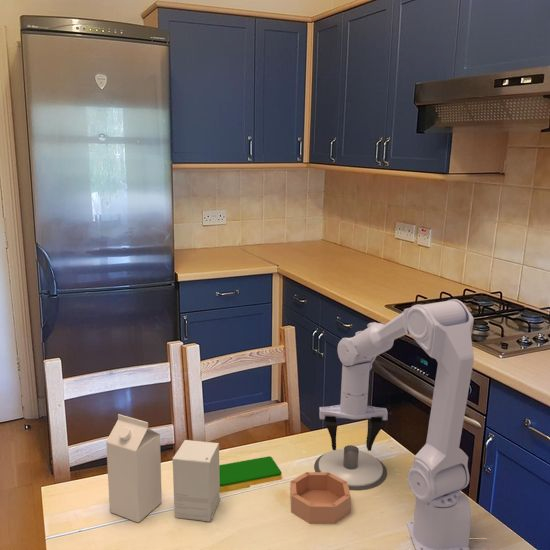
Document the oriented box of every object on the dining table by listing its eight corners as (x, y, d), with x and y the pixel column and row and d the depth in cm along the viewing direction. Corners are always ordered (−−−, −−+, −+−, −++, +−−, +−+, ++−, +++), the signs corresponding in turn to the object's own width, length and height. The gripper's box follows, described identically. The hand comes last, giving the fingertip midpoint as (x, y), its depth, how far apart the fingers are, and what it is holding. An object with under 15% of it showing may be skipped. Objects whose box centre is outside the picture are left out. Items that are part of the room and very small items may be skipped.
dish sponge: (281, 482, 118) (282, 472, 118) (219, 495, 114) (218, 484, 113) (270, 465, 125) (270, 455, 124) (210, 476, 120) (210, 466, 120)
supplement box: (220, 499, 112) (220, 442, 109) (210, 523, 104) (209, 462, 102) (185, 495, 113) (184, 438, 110) (172, 518, 106) (171, 458, 103)
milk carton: (133, 493, 113) (130, 406, 109) (162, 503, 110) (159, 414, 106) (109, 512, 107) (104, 422, 103) (138, 523, 104) (135, 431, 100)
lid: (375, 452, 130) (377, 433, 128) (388, 487, 116) (389, 467, 115) (316, 451, 129) (316, 432, 128) (321, 487, 116) (322, 466, 115)
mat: (379, 451, 131) (379, 450, 130) (394, 492, 115) (394, 490, 115) (311, 450, 130) (311, 449, 130) (317, 491, 115) (317, 489, 115)
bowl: (344, 489, 116) (345, 472, 115) (352, 525, 104) (353, 507, 103) (289, 489, 115) (289, 471, 115) (291, 525, 104) (292, 506, 103)
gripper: (384, 383, 123) (380, 439, 126) (319, 382, 122) (316, 438, 125) (391, 397, 116) (387, 456, 119) (322, 396, 116) (319, 455, 118)
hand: (351, 448), depth 122 cm, fingers open, 7 cm apart
